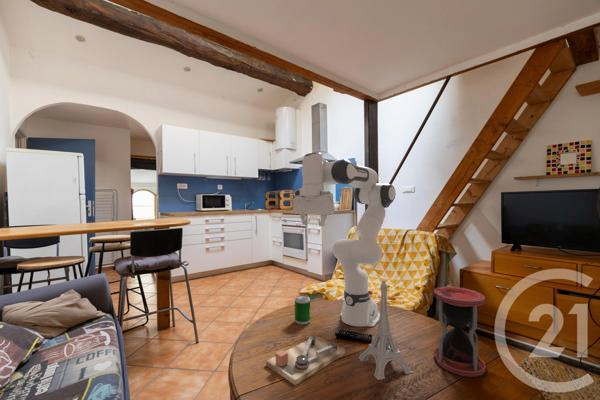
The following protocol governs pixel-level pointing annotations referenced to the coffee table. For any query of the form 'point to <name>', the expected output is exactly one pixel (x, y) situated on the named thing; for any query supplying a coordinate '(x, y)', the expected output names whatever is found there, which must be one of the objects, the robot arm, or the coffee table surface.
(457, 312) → the hourglass
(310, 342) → the tong arm
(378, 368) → the eiffel tower
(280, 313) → the coffee table surface
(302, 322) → the soda can
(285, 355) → the salmon pink block
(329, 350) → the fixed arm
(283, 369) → the board
